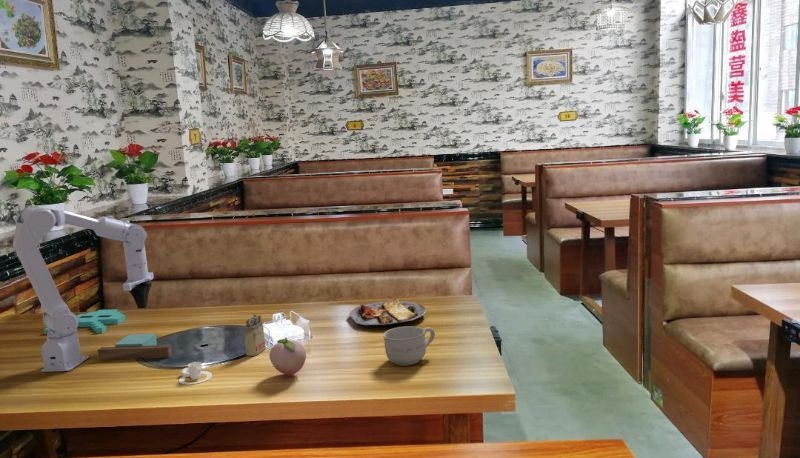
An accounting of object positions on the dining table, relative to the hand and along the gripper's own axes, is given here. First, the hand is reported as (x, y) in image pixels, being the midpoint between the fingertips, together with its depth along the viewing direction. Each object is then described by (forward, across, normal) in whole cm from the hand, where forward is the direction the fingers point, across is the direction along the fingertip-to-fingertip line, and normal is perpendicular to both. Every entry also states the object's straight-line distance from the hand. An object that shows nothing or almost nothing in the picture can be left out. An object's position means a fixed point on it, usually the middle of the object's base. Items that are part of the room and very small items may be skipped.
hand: (142, 307), depth 178 cm
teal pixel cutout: (+11, +19, +29) cm, 36 cm away
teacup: (+10, -22, -82) cm, 85 cm away
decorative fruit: (+10, -30, -52) cm, 61 cm away
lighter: (+10, -13, -38) cm, 41 cm away
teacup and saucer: (+11, -26, -28) cm, 40 cm away
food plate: (+11, +14, -72) cm, 75 cm away
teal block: (+11, -9, -2) cm, 14 cm away
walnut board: (+10, -14, -4) cm, 18 cm away
